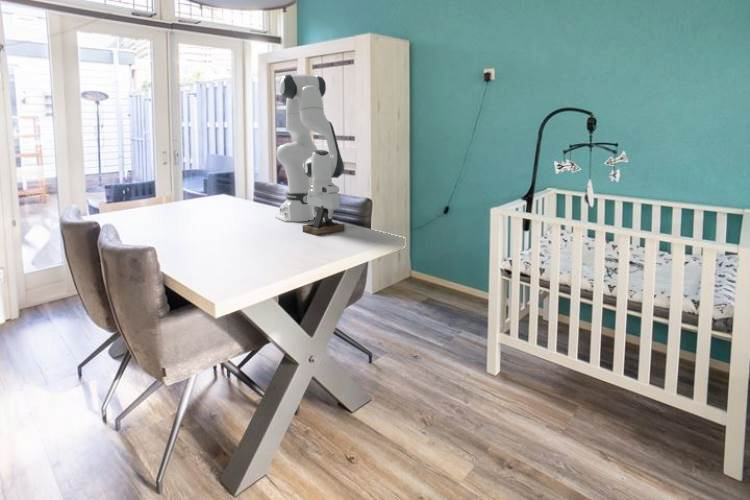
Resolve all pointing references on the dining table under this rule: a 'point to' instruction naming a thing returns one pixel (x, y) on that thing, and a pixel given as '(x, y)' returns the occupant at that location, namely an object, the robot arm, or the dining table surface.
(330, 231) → the walnut tray
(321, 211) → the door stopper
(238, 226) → the dining table surface
